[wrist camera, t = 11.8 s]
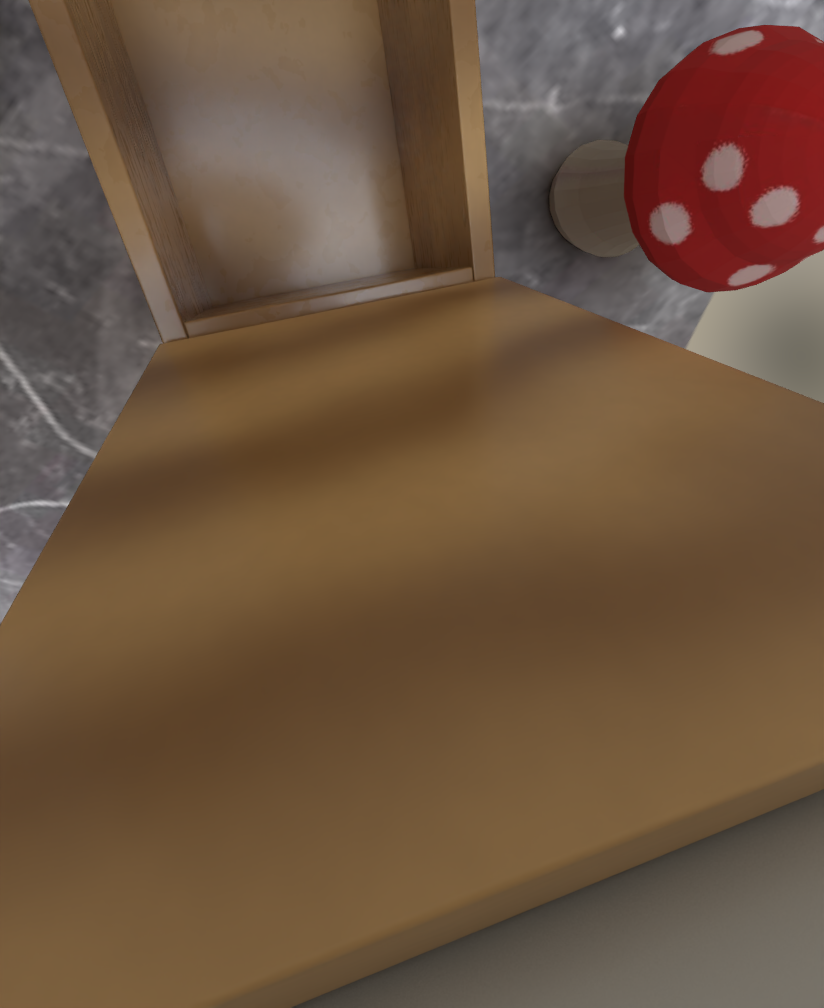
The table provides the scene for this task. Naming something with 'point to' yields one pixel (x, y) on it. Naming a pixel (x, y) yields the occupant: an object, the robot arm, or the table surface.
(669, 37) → the table surface
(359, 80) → the box
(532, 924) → the robot arm
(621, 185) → the decorative mushroom
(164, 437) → the lid
